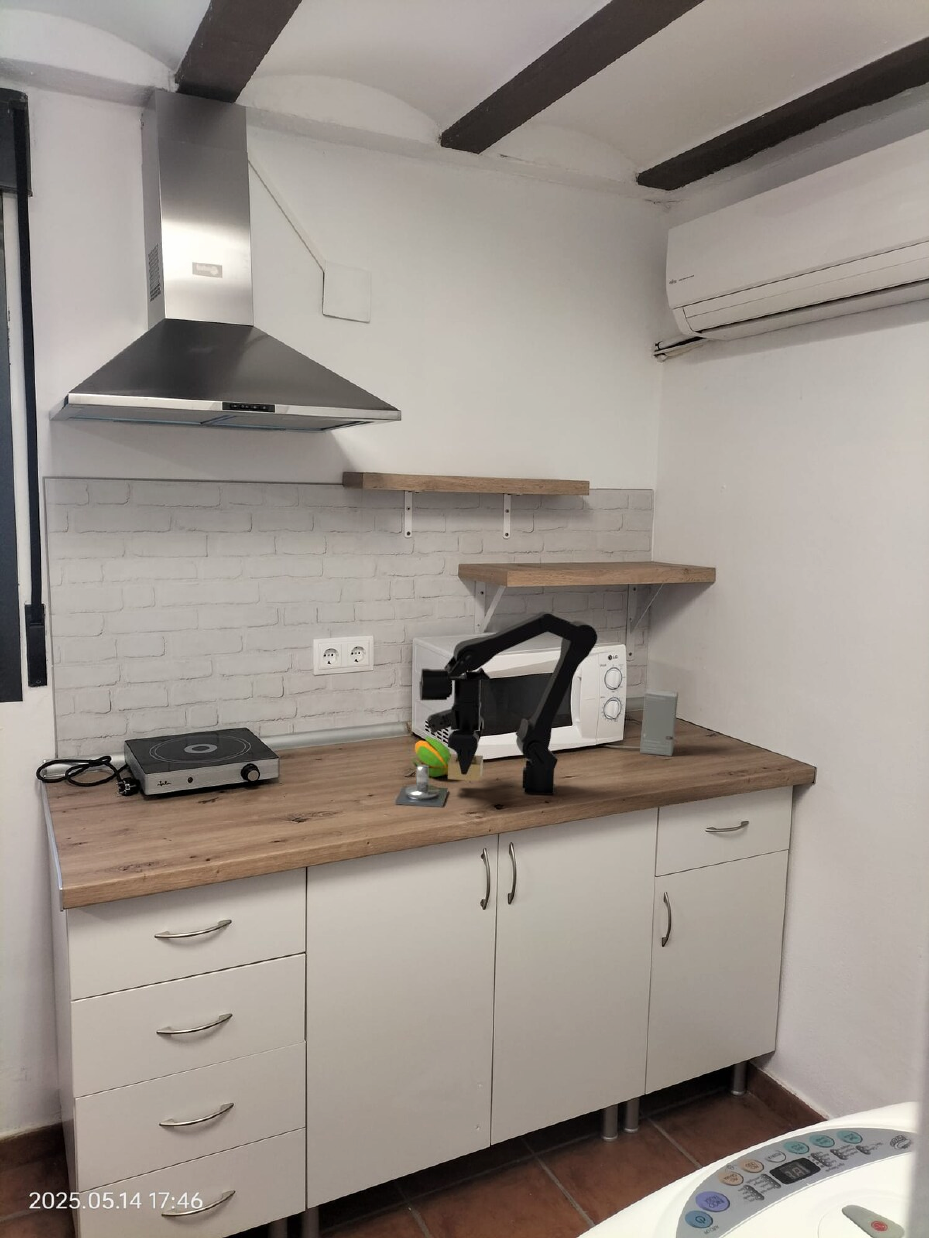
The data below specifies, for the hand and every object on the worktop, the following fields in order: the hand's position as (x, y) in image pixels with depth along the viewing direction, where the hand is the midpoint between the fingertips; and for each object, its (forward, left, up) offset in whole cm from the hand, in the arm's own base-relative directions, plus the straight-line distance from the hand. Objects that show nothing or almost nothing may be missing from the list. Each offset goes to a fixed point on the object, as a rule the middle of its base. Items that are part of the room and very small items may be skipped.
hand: (465, 769), depth 200 cm
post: (+9, +5, -5) cm, 11 cm away
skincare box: (-46, -40, -6) cm, 61 cm away
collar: (0, 0, -1) cm, 1 cm away
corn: (+10, -16, -6) cm, 19 cm away
